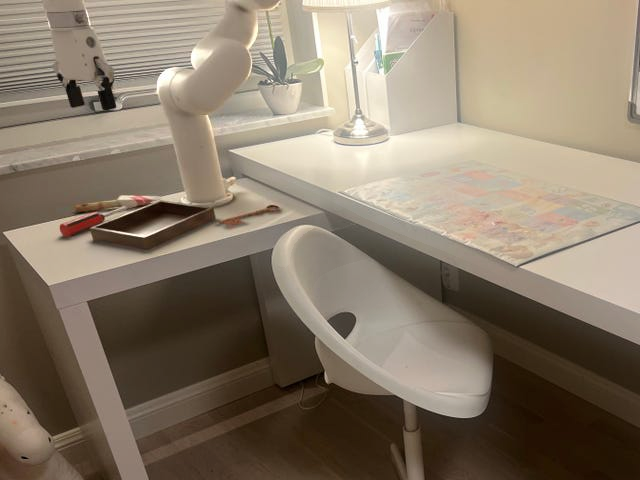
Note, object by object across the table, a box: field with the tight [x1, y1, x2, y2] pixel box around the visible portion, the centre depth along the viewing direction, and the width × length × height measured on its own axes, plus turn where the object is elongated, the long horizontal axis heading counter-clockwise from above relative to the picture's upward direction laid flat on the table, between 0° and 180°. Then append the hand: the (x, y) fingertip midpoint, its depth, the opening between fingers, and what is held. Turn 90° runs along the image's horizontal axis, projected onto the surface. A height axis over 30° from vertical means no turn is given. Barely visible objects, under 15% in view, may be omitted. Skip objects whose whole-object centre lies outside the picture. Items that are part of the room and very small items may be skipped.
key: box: [218, 204, 281, 227], centre depth 172 cm, size 6×1×15 cm
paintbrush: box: [74, 194, 163, 213], centre depth 180 cm, size 4×3×20 cm
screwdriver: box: [59, 206, 128, 238], centre depth 170 cm, size 17×3×3 cm, turn 155°
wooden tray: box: [89, 199, 217, 251], centre depth 165 cm, size 21×17×3 cm
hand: (93, 107), depth 157 cm, fingers open, 9 cm apart
